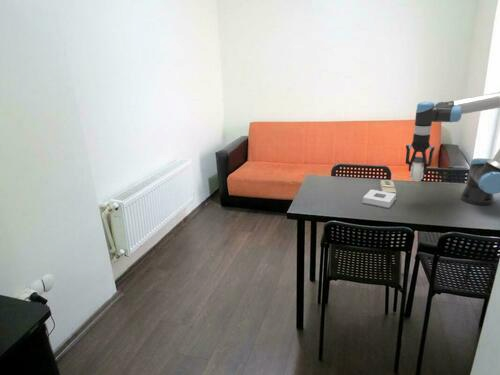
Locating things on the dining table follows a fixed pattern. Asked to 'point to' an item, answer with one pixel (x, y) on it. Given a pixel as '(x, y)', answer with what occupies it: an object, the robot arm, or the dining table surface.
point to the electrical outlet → (387, 186)
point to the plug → (417, 168)
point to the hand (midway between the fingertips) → (416, 177)
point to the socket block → (379, 198)
